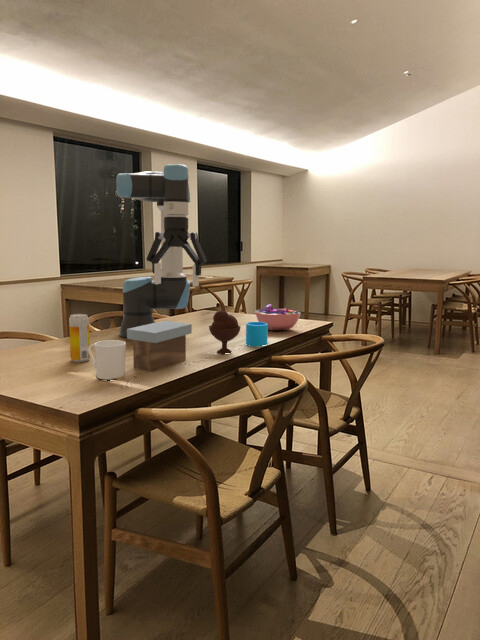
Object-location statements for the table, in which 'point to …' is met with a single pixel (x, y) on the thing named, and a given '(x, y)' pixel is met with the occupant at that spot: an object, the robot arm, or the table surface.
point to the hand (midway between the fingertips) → (176, 285)
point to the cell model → (277, 318)
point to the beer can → (79, 337)
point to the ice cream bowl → (224, 329)
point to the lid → (159, 331)
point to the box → (159, 353)
